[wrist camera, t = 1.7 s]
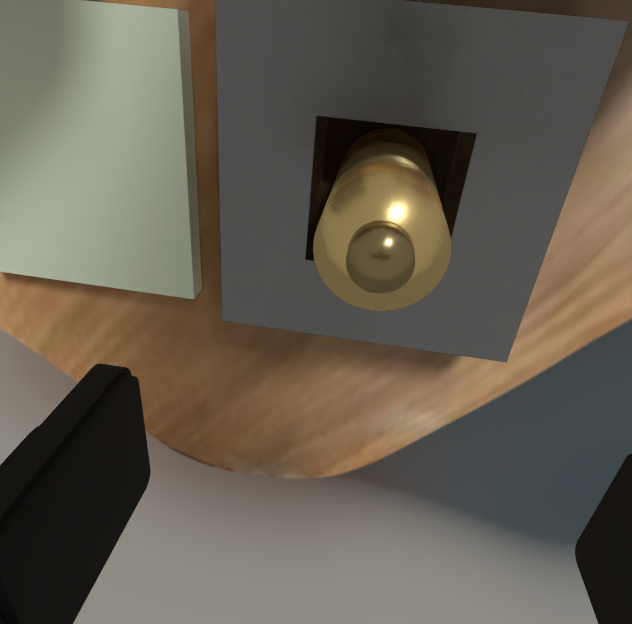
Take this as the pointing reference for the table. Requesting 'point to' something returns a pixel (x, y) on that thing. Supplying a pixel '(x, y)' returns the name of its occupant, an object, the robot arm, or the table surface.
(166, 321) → the table surface
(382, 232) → the tan cylindrical piece
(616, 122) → the table surface
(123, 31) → the board
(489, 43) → the housing
